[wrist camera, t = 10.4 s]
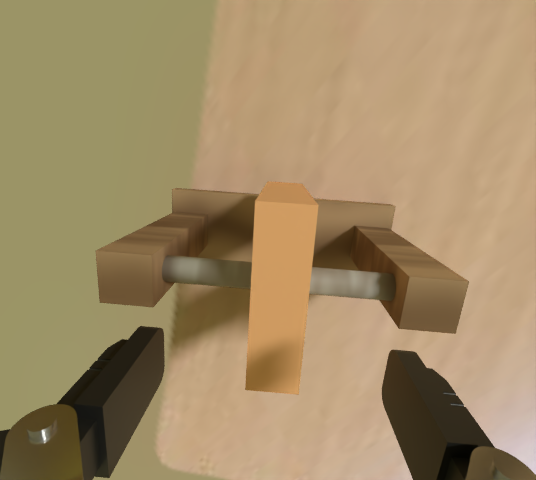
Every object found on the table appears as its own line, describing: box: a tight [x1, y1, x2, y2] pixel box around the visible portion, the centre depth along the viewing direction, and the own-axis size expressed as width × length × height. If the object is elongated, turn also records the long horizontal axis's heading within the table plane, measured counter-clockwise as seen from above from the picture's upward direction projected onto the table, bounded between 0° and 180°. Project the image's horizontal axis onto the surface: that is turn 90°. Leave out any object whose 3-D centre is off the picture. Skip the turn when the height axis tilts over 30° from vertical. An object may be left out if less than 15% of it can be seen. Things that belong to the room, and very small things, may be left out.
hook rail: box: [96, 188, 469, 334], centre depth 23 cm, size 7×20×14 cm, turn 86°
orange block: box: [245, 182, 319, 394], centre depth 20 cm, size 10×3×12 cm, turn 176°
